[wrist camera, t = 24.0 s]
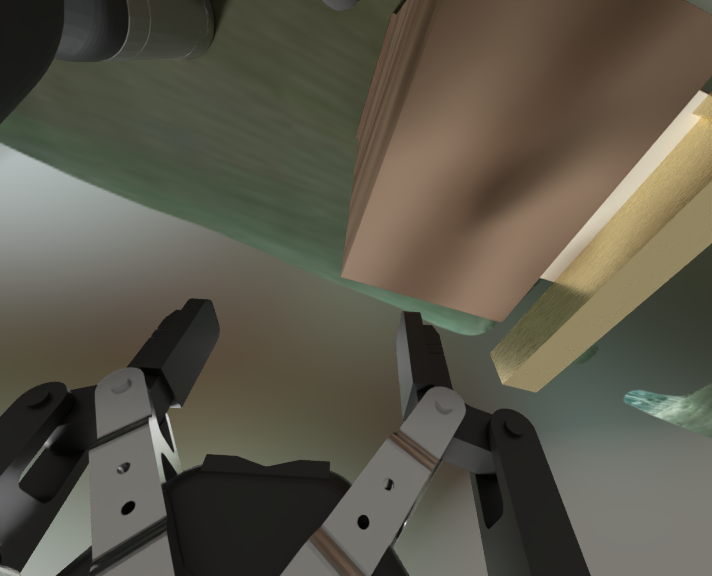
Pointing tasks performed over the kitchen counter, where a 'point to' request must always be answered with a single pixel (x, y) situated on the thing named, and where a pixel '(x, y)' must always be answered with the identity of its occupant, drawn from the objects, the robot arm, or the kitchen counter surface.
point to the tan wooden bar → (618, 264)
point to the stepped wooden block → (513, 138)
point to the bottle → (340, 4)
